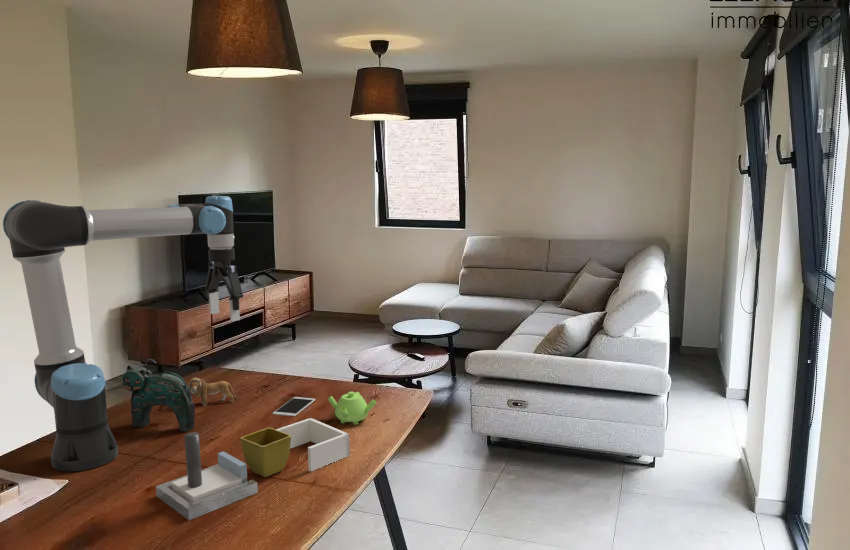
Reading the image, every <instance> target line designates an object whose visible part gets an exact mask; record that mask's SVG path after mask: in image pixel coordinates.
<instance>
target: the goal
mask: <svg viewBox="0 0 850 550" xmlns="http://www.w3.org/2000/svg"><path fill="white" fill-rule="evenodd" d="M275 430H278V431H281V432H283V433H286V434H289V435H291V444H290V450H291V449H294V448H296V447H298V446H301V445H304V444H306V443H307V444H308V443H310V442H311V443H314V445H311V446H308V447H307V457H308V458H307V460H308V461H307V462H308V472H310V471H313V472H315V471H317V470H316V469H318V468H320V469H322V468H324V467H323V466H325V465H327V466H329V465H328V464H330V463H332V464H334V463H333V462H335V463H337V462H339V461H338V460H340V459H342V460H344V459H343V458H345V457H347V458H349V457H350V453H351V452H350V448H351V447H350V433H348V432H346V431H343V430H340V429H338V428H335V427H333V426H331V425H329V424H326V423H324V422H321V421H319V420H317V419H314V418H312V417H309V418H306V419H303V420H300V421H298V422H294V423H291V424H289V425H286V426H281V427H280V428H276V429H275ZM348 456H349V457H348ZM345 459H346V458H345ZM336 461H337V462H336ZM340 461H341V460H340ZM330 465H331V464H330ZM321 467H322V468H321ZM325 467H326V466H325ZM314 470H315V471H314ZM318 470H319V469H318Z"/></svg>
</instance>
